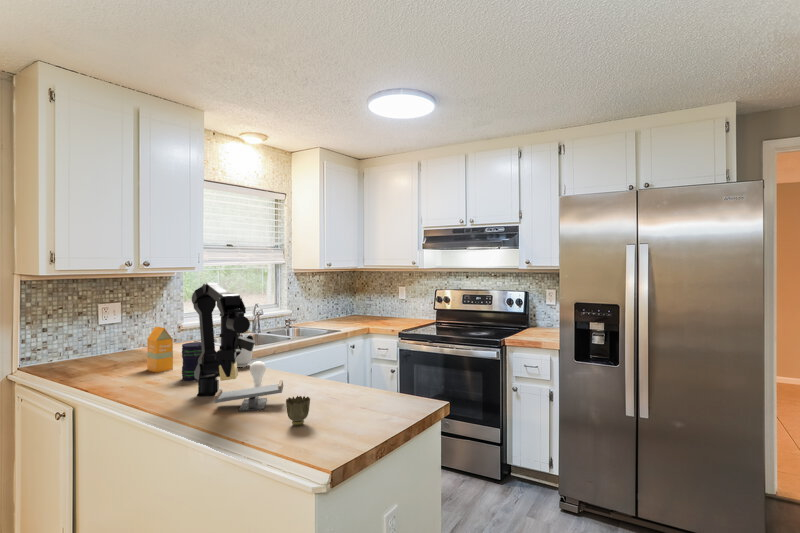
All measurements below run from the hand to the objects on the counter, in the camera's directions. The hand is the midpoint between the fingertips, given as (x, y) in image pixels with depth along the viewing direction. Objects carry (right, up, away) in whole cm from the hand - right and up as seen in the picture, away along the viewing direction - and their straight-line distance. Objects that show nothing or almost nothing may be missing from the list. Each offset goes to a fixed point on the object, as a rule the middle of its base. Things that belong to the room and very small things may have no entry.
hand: (229, 374), depth 154 cm
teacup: (-19, -11, +61) cm, 65 cm away
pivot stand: (+8, -11, +2) cm, 14 cm away
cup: (+28, -12, -17) cm, 34 cm away
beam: (+8, -7, +2) cm, 11 cm away
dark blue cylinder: (-30, -11, +38) cm, 50 cm away
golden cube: (0, -1, 0) cm, 1 cm away
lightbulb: (+3, -11, +22) cm, 25 cm away
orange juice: (-53, -11, +54) cm, 77 cm away
